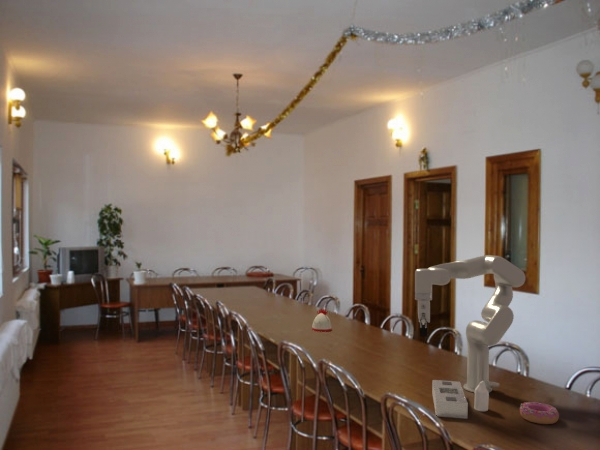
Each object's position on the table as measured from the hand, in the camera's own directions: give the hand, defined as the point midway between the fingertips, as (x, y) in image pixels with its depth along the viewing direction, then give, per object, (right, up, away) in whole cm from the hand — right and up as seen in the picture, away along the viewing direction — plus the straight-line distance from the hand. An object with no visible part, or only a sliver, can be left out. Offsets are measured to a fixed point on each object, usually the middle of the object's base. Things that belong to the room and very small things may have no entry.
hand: (423, 334), depth 245 cm
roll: (+20, -27, -19) cm, 39 cm away
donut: (+39, -28, -29) cm, 56 cm away
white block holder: (+7, -27, -15) cm, 32 cm away
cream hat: (-40, -26, +142) cm, 150 cm away
